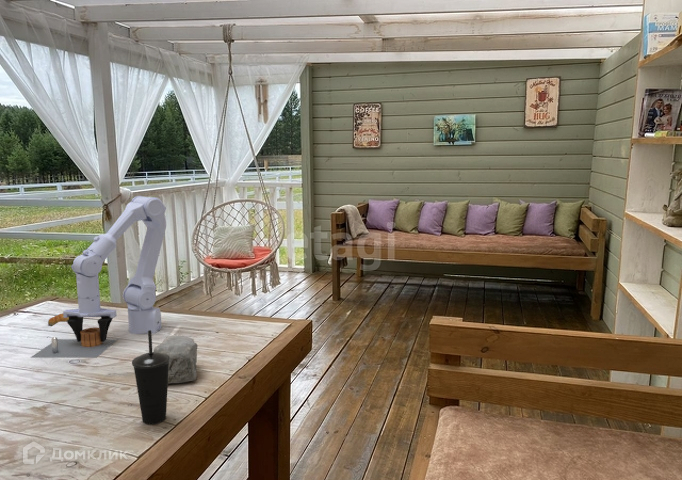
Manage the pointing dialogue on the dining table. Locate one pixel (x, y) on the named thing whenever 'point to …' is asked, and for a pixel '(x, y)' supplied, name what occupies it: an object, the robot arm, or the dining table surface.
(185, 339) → the stone
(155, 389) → the drinking cup
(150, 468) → the dining table surface
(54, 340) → the metal post
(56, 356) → the grey rectangular slab
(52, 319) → the pastry
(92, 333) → the bead
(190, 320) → the dining table surface
